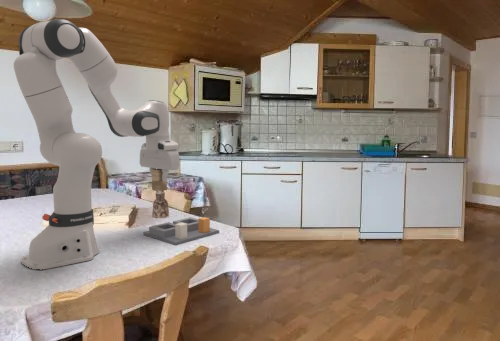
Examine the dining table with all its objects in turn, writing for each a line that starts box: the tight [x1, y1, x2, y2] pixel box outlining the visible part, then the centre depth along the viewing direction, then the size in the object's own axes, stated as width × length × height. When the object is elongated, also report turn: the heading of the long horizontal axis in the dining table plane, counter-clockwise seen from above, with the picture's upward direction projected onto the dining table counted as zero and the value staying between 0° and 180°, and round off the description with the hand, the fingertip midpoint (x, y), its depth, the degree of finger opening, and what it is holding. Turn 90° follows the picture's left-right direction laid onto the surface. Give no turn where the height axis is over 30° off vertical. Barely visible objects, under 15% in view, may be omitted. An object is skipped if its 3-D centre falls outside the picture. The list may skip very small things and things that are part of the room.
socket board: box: [143, 216, 220, 246], centre depth 160 cm, size 21×19×6 cm
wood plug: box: [151, 169, 168, 192], centre depth 162 cm, size 4×4×8 cm
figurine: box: [151, 190, 170, 219], centre depth 187 cm, size 7×7×12 cm
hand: (159, 180), depth 162 cm, fingers closed on wood plug, 4 cm apart
